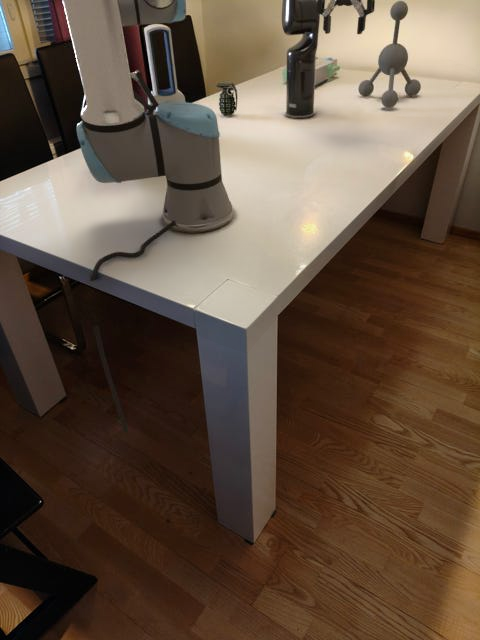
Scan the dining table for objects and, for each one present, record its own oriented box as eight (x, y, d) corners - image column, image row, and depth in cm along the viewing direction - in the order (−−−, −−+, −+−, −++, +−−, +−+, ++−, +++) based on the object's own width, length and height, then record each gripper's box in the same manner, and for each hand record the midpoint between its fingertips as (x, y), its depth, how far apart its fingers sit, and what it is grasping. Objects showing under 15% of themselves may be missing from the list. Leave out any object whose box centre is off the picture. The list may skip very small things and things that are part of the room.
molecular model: (440, 102, 169) (459, -1, 151) (386, 111, 163) (400, 6, 145) (398, 88, 187) (412, -5, 168) (348, 96, 181) (356, 0, 162)
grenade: (217, 117, 168) (214, 86, 162) (221, 112, 172) (219, 82, 166) (235, 117, 166) (233, 86, 160) (239, 113, 171) (238, 82, 165)
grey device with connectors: (305, 54, 216) (346, 57, 206) (304, 70, 220) (345, 74, 210) (274, 66, 200) (317, 69, 190) (274, 83, 204) (316, 87, 194)
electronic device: (152, 140, 151) (135, 28, 133) (149, 133, 157) (132, 25, 139) (192, 134, 154) (180, 24, 135) (187, 128, 159) (175, 21, 141)
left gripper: (155, 44, 125) (166, 130, 137) (55, 56, 117) (77, 145, 130) (163, 48, 119) (174, 137, 132) (58, 60, 112) (81, 153, 124)
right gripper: (383, -47, 115) (374, 31, 125) (325, -45, 121) (322, 30, 131) (374, -46, 110) (366, 36, 120) (314, -43, 116) (311, 35, 126)
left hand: (126, 141), depth 131 cm, fingers open, 13 cm apart
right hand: (343, 33), depth 125 cm, fingers open, 8 cm apart
